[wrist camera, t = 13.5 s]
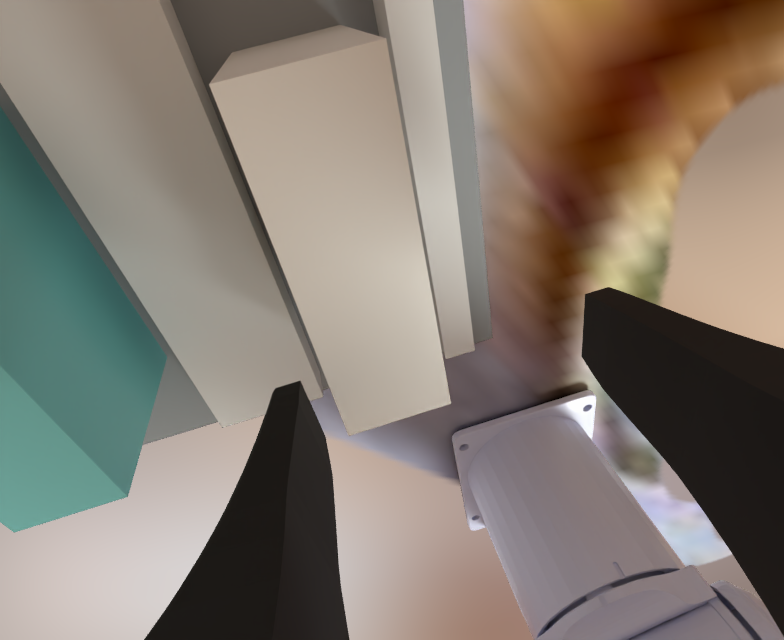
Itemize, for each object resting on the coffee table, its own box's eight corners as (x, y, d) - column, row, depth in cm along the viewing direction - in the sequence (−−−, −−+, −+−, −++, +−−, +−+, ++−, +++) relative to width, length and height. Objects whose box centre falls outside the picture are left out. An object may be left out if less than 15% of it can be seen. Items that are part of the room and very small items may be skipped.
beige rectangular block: (401, 295, 18) (450, 403, 13) (326, 317, 18) (348, 435, 13) (340, 24, 12) (385, 38, 8) (231, 52, 12) (208, 84, 7)
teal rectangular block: (167, 356, 17) (127, 496, 12) (86, 381, 17) (13, 532, 12) (-6, 97, 12) (-197, 164, 7) (-126, 128, 12) (-410, 219, 7)
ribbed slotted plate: (485, 327, 21) (506, 359, 19) (63, 456, 20) (41, 503, 18) (436, -178, 11) (469, -214, 9) (-388, 12, 10) (-536, 14, 8)
